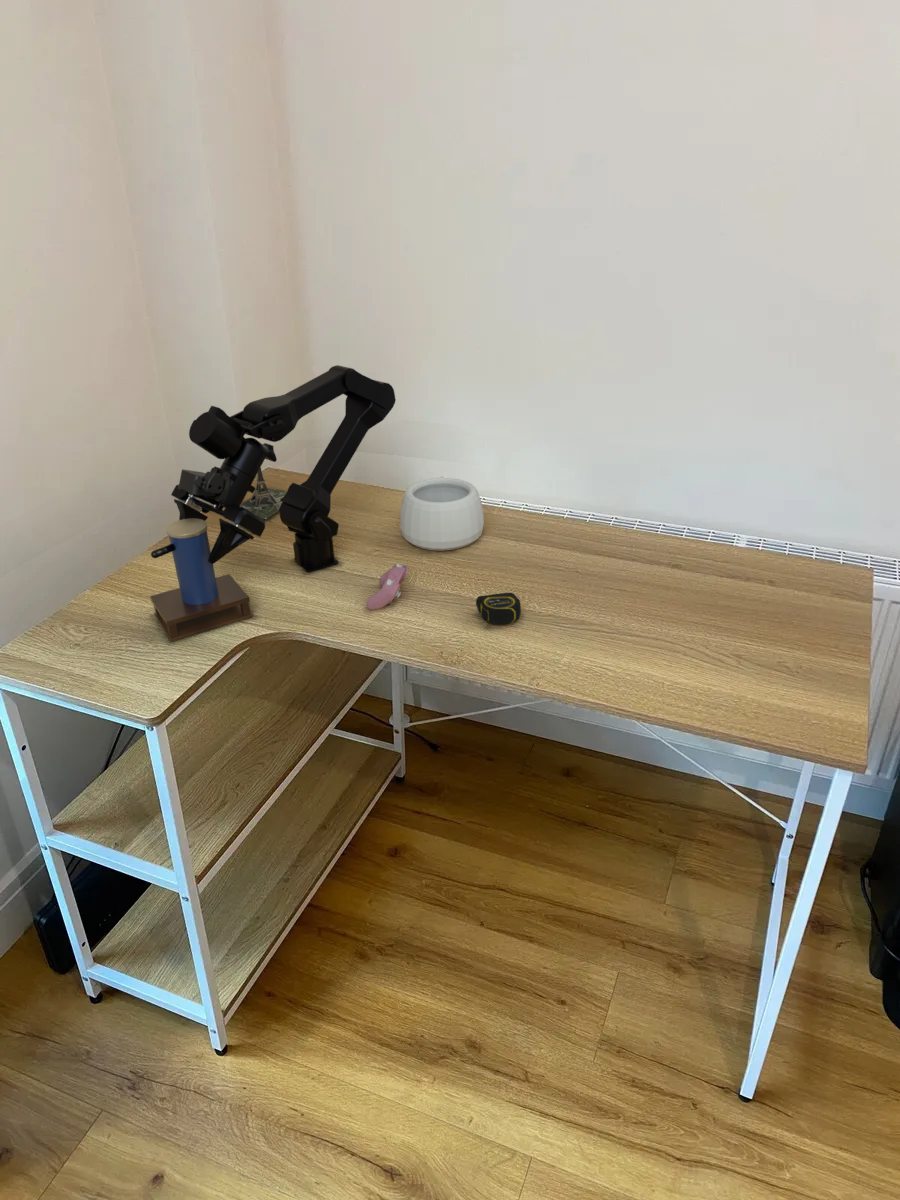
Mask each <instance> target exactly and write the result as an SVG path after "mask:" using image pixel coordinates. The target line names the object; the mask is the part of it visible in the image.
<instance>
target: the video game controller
mask: <svg viewBox="0 0 900 1200" xmlns="http://www.w3.org/2000/svg"><path fill="white" fill-rule="evenodd" d="M408 572H409V567H407V566H406V565H404V564H399V563H396V564H394V565H393V566H392V567H391V568H390V569H389V570H387V571H386V572H384V573H383V574H381V576H380V577H379V579H378V582H379V584H380V586H381V588H380V589H379V590H378V591H377V592H375V593H374V594H372V595H371V596H370V597H368V598H367V600H366V602H365V603H366V604H365V605H366V607H367V609H368V610H372V611H375V610H380V609H382V608H383V607H386V606H387V605H391V603H392V602H393V600H394V599H395V598H397V599H398V598H399V597H400V596H401V594H402V592H401V588H400V587H401V584H402V583H403V581H405V579H406V578H407V575H408Z"/></svg>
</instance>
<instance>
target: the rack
mask: <svg viewBox="0 0 900 1200" xmlns="http://www.w3.org/2000/svg"><path fill="white" fill-rule="evenodd" d="M216 583H217V588H218V596H217V598H216V599H214V600H213V601H211V602H209V603H206V604H201V605H189V604H186V603H184V602H183V600H182V597H181V592H180V587H178V588H174V589H171V590H167V591H164V592H159V593H157V594H154V595H150V596H149V598H150V601H151V603H152V604H153V610H154V613H153V615H154V618H155V619H156V621H157V622H158V624H159V626H160V627H161V629H162V630H163V632H164V634H165V636H167V638H168V640H169V641H170V643H173V642H176V641H180V640H183V639H186V638H189V637H192V636H193V637H194V636H196V635H199V634H203V633H206V632H209V631H212V630H217V629H219V628H222V627H226V626H228V625H233V624H235V623H239V622H242V621H245V620H249V619H252V618H253V614H252V612H251V609H250V601H251V600H250V597H249V595H248V594H247V593H246V591H245V590H244V589H243V588H242V587H241V586H240V584H238V583H237V581H236V580H235V579H234V578H233V576H232V575H231V574H230V573H228V574H224V575H221V576H216Z"/></svg>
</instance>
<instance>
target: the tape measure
mask: <svg viewBox="0 0 900 1200" xmlns="http://www.w3.org/2000/svg"><path fill="white" fill-rule="evenodd" d="M475 601H476V602H475V606H476V608H477V611H478V613H479V614H481V616H480V617H481V619H482V620H483V621H484V622H486V623H487V624H490V625H492V626H507V625H511V624H514V623H516V622H517V621H518V620H519V619H520V617H521V611H522V606H521V600H520V598H518V597H517V596H516V594H515V593H513V592H502V593H493V594H486V595H479V596H477V597H476V599H475Z"/></svg>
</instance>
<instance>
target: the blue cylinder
mask: <svg viewBox="0 0 900 1200" xmlns="http://www.w3.org/2000/svg"><path fill="white" fill-rule="evenodd" d="M206 521H207V520H205V521H204V520H202V519H196V518H189V519H182V520H179V519H178V520H176V521H173V522H171V523H169V524H168V525H167V526H166V528H165V531H166V535H167V536H168V538H169V544H167V545H165V546H162V547H160V548H157V549H155V550H153V551H151V552H150V556H151V558H152V559H158V558H160V557H163V556H166V555H167V554H170V553H171V554H172V559H173V563H174V566H175V567H174V568H175V572H176V577H177V581H178V586H179V587H178V588H180V592H181V597H182V600H183V602H184V603H186V604H189V605H201V604H206V603H209V602H211V601H213V600H214V599H216V598H217V596H218V588H217V583H216V578H217V576H216V572H215V566H214V564H211V563H209V562H208V559H209V556H210V553H211V551H212V549H211V546H210V540H209V539H210V538H209V535H208V523H207V522H206Z"/></svg>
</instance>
